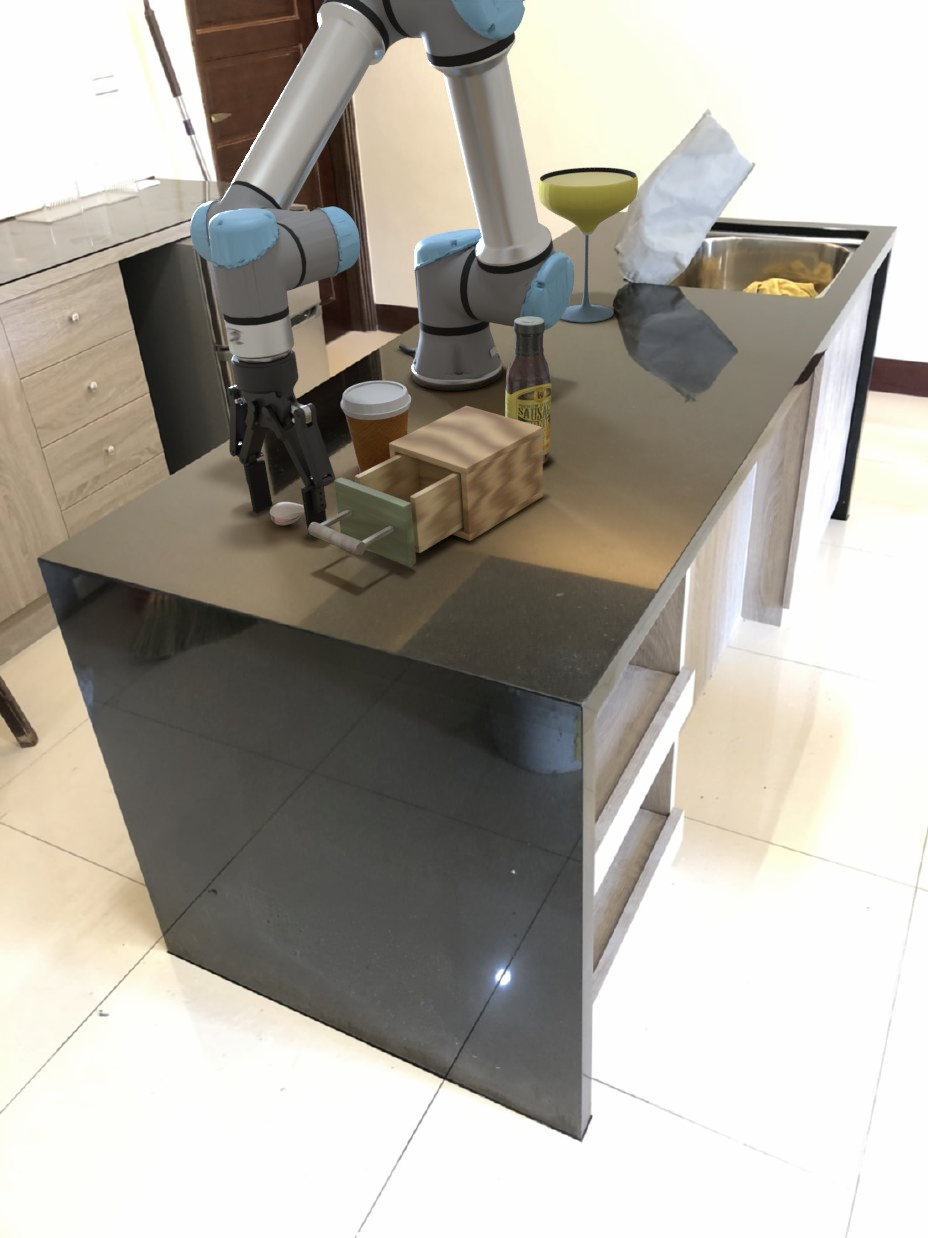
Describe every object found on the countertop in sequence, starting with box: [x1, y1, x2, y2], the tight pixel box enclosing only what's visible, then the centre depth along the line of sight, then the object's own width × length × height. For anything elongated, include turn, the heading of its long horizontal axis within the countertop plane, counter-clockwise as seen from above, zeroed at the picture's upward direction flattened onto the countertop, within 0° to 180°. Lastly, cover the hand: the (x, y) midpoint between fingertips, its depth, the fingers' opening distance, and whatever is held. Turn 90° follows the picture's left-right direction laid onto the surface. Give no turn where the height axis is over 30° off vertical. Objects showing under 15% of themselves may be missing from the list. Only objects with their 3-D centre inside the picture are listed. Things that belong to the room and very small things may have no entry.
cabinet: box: [389, 405, 544, 542], centre depth 129 cm, size 15×13×10 cm
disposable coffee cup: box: [339, 380, 412, 474], centre depth 137 cm, size 10×10×12 cm
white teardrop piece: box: [269, 501, 305, 526], centre depth 130 cm, size 4×5×2 cm
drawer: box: [307, 453, 464, 568], centre depth 121 cm, size 20×12×8 cm, turn 139°
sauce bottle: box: [504, 316, 552, 465], centre depth 136 cm, size 6×6×20 cm
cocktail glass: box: [537, 166, 639, 324], centre depth 189 cm, size 18×18×25 cm
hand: (289, 519), depth 130 cm, fingers open, 10 cm apart
